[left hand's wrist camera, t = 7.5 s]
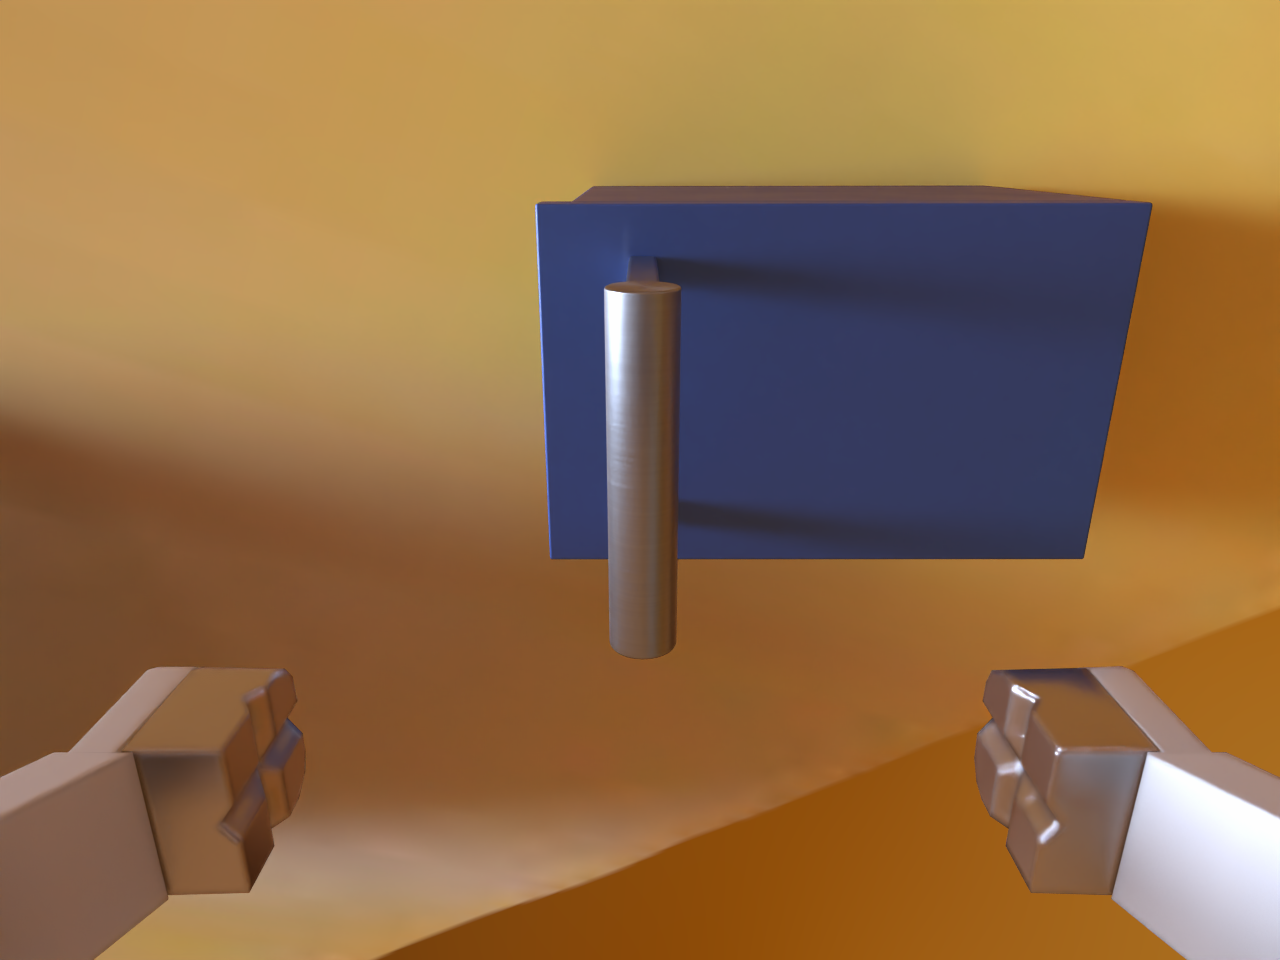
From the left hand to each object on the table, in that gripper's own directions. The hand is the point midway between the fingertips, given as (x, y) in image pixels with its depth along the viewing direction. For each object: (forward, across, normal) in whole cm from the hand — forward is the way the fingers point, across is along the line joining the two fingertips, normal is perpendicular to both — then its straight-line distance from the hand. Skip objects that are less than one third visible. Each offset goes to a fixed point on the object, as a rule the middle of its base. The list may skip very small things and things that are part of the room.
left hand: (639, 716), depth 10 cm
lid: (+15, -5, 0) cm, 16 cm away
